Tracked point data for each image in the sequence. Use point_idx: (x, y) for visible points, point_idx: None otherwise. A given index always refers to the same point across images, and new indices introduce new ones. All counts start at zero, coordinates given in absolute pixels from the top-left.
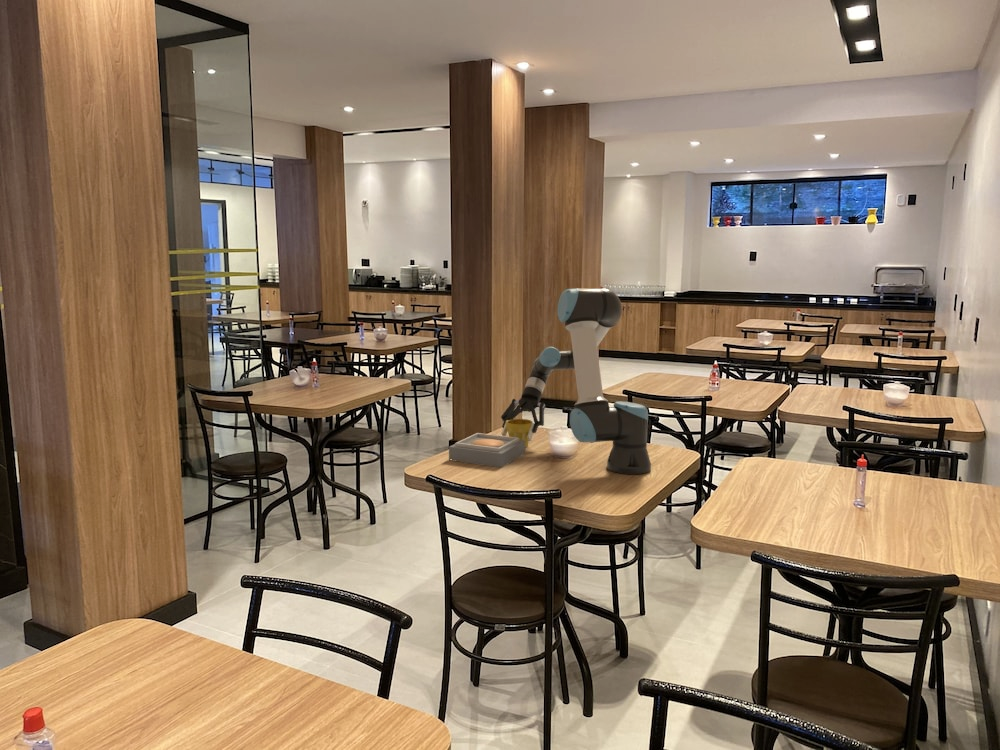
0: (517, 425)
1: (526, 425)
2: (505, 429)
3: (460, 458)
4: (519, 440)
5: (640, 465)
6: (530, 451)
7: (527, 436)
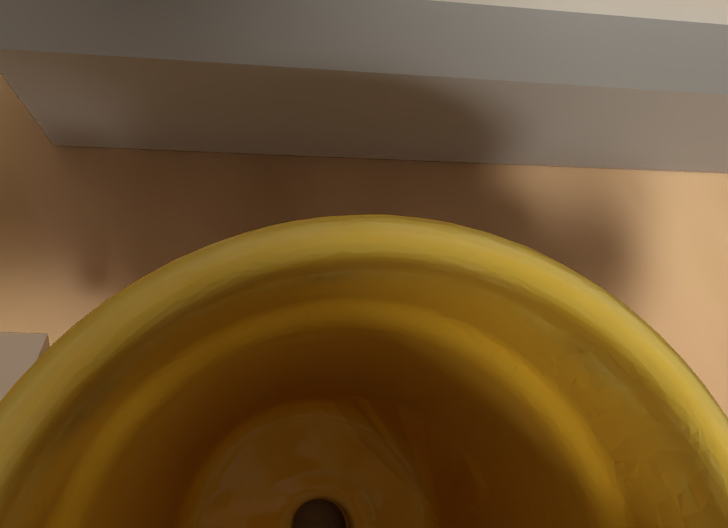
0: (272, 226)
1: (8, 395)
2: None
3: None
4: (96, 6)
5: None
6: (15, 291)
7: (37, 345)
